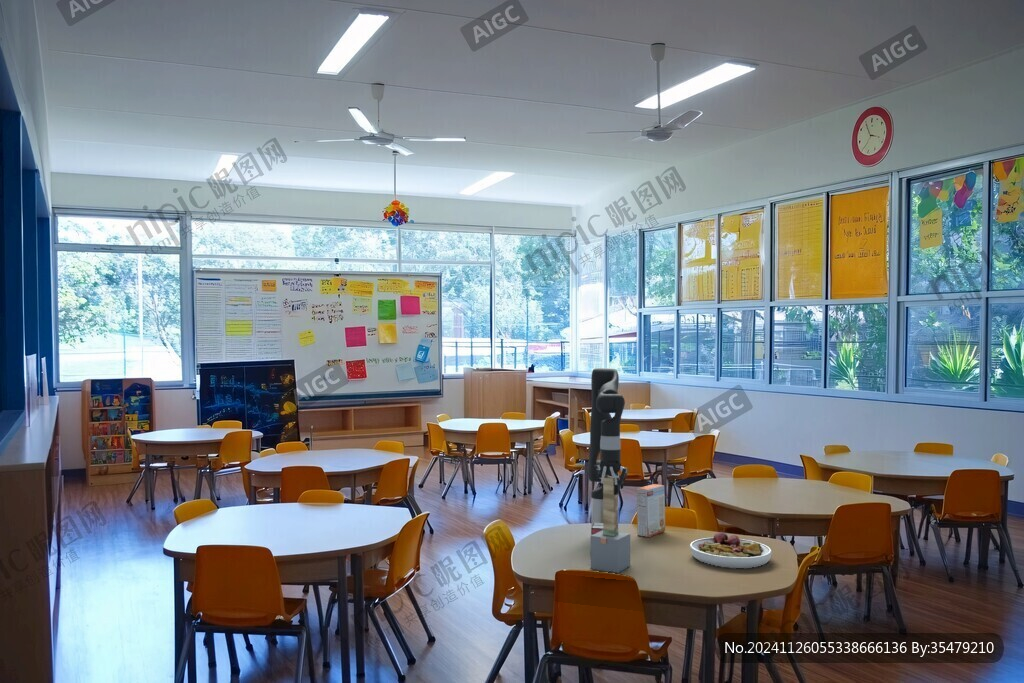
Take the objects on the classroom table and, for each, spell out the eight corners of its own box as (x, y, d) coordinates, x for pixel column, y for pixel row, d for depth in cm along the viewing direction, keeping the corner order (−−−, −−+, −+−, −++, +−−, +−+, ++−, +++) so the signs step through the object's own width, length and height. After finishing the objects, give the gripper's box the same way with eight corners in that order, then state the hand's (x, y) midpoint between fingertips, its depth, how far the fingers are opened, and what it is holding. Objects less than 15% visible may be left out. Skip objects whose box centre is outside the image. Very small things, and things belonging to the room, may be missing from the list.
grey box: (603, 561, 285) (603, 529, 286) (630, 565, 279) (630, 533, 280) (589, 568, 276) (589, 536, 276) (616, 573, 270) (616, 540, 270)
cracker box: (654, 530, 336) (653, 483, 336) (665, 532, 332) (665, 485, 332) (636, 535, 326) (636, 487, 326) (648, 538, 322) (647, 489, 322)
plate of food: (784, 570, 275) (784, 549, 275) (703, 571, 273) (703, 550, 273) (753, 549, 305) (753, 529, 305) (681, 550, 303) (681, 530, 303)
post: (607, 540, 281) (607, 476, 281) (618, 541, 279) (618, 477, 279) (602, 542, 277) (602, 477, 278) (613, 544, 275) (613, 478, 275)
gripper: (632, 448, 278) (632, 494, 278) (597, 445, 285) (597, 490, 285) (623, 450, 271) (623, 497, 271) (588, 447, 279) (588, 493, 279)
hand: (610, 493), depth 278 cm, fingers closed on post, 4 cm apart
